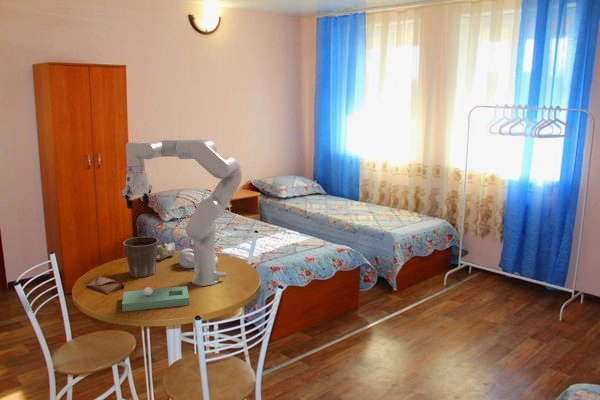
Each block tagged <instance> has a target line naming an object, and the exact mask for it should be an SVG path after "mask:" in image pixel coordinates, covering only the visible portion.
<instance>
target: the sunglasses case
mask: <svg viewBox="0 0 600 400" xmlns="http://www.w3.org/2000/svg"><path fill="white" fill-rule="evenodd" d="M85 287H86V288H91V289H93V290H96V291H99V292H101V293H104V294H105V295H111V294H114V293H117V292H119V291H120V292H121V291H122V289H123V290H124V289H125V285H124V284H123V283H122V282H120V281H117V280H114V279H112V278H108V277H106V276H102V275H100V274H98V275H97V276H96V277H95V278H94V279H92V280H91V281H89V282H88V284H87V285H85ZM116 291H117V292H116Z"/></svg>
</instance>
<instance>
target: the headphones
mask: <svg viewBox="0 0 600 400" xmlns="http://www.w3.org/2000/svg"><path fill="white" fill-rule="evenodd" d="M177 259H178V264H179V265H180V267H182V268H185V269H193V268H194V249H192V248H188V247H187V248H183V249H181V250H180V251H179V253H178V254H177ZM218 263H219V258H218V256H217V255H216V254H215V267H216V266H217V265H218Z"/></svg>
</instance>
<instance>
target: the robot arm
mask: <svg viewBox="0 0 600 400" xmlns="http://www.w3.org/2000/svg"><path fill="white" fill-rule="evenodd" d="M125 152H126V168H125V170H126V172H127V173H126V175H125V176H126V178H125V188H124V189H122V190H121V194H122V196H123V198H124V199H125V200H126V208H127V209H131V210H132V209H134V200H133V197H134V196H140V195H142V204H143V205H146V206H149V205H150V196H151V195H150V194H151V193H152V189H153V185H151V184H150V183H149V177H148V172H147V171H146V167H145V166H146V165H145V160H152V159H156V158H162V157H165V158H166V157H175V158H178V159H179V160H195V161H196V163H198V164H199V166H201V167H202V168H204V170H206V171H207V172H208V173H209V174H210V175H211V176H213V178H216V179H219V182H218V183H217V185H216V186H215V188H214V190H213V191H212V193H211V194H210V196H208V197H207V198H205V199H203V200H202V201H201V202H200V203H199V205H197V207H196V209H195V211H194V212H193V214H192V215H191V217H190V219H189V220H188V221H187V223H186V225H185V233H186V235H187V237H188V238H189V239H191V240H192V241H193V250H194V267H193V268H194V276H193V278H191V280H190V281H191V284H192V285H195V286H199V287H200V286H201V287H207V286H213V285H216V284H218V283H220V278H226V277H227V273H226V272H223V271H217V268H216V266H215V255H216V230H217V229H216V227H217V226H216V220H217V219H218V218H219V217H220V216H221V215H223V213H225V211H226V208H227V207H228V205H229V204H230V202H231V200H232V198H233V197H234V196H235V193H236V192H237V190H238V188H239V187H240V184H241V182H242V176H243V171H242V170H243V169H242V168H241V164H240V163H239V161H238V160H237V159H236V158H235V157H233V156H223V157H221V156H220V155H219V154H218V153H217V145H216V143H215V142H214V141H212V140H211V139H177V140H176V139H174V140H171V139H170V140H168V139H165V140H161V139H160V140H151V141H147V142H146V141H145V142H141V141H128V142H126V144H125Z"/></svg>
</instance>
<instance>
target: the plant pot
mask: <svg viewBox="0 0 600 400" xmlns="http://www.w3.org/2000/svg"><path fill="white" fill-rule="evenodd" d="M158 243H159V238H157V237H152V236H136V237H130V238H127V239H125V240H124V241H123V242H122V245H123V246H124V251H125V253H126V259H127V267H128V274H129V275H130V276H131V277H133V278H145V277H147V276H148V277H150V276H153V275H155V274H156V273H157V260H156V258H157V257H156V253H157V246H158Z"/></svg>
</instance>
